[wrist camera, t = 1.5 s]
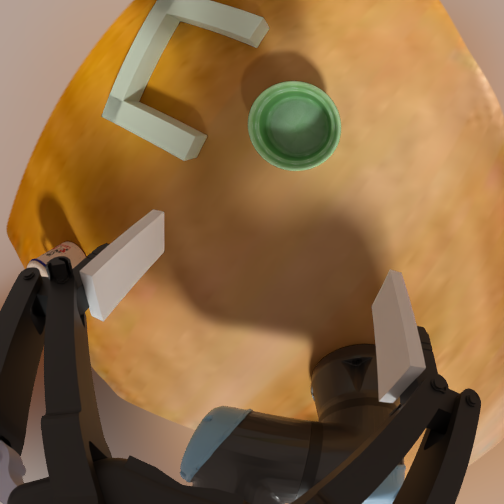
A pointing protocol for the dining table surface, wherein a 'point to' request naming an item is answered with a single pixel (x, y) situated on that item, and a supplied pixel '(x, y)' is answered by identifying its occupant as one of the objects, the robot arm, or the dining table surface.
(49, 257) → the teacup with lid
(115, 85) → the holder
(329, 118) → the ramekin
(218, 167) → the dining table surface
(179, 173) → the dining table surface
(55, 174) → the dining table surface
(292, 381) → the dining table surface
